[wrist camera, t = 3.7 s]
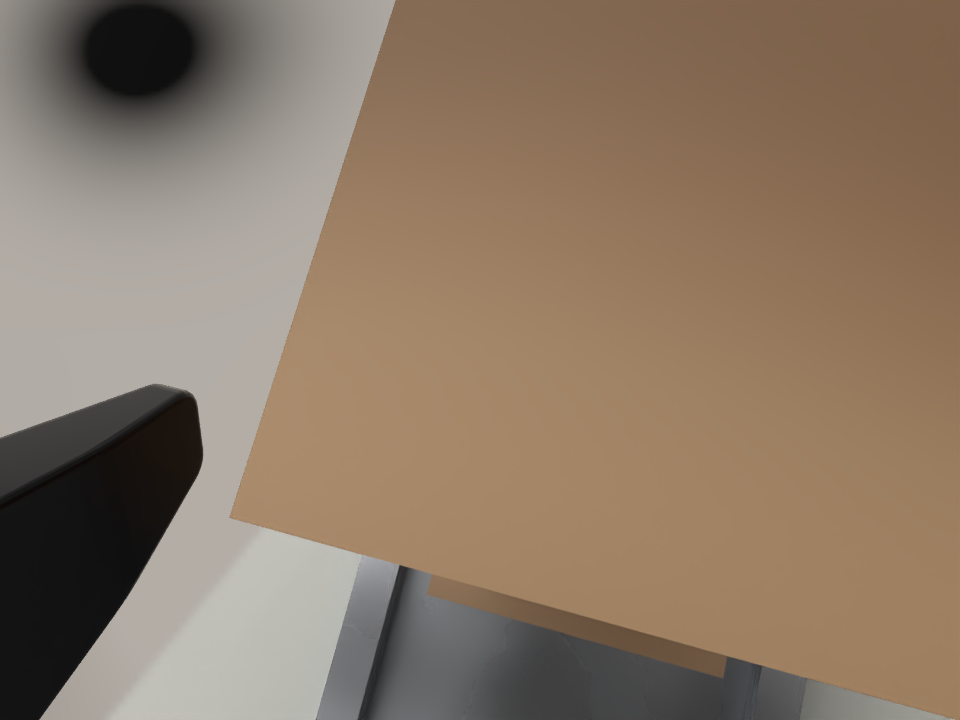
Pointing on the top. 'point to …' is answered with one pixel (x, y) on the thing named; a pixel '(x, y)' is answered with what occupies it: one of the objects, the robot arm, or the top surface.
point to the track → (516, 667)
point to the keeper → (648, 331)
